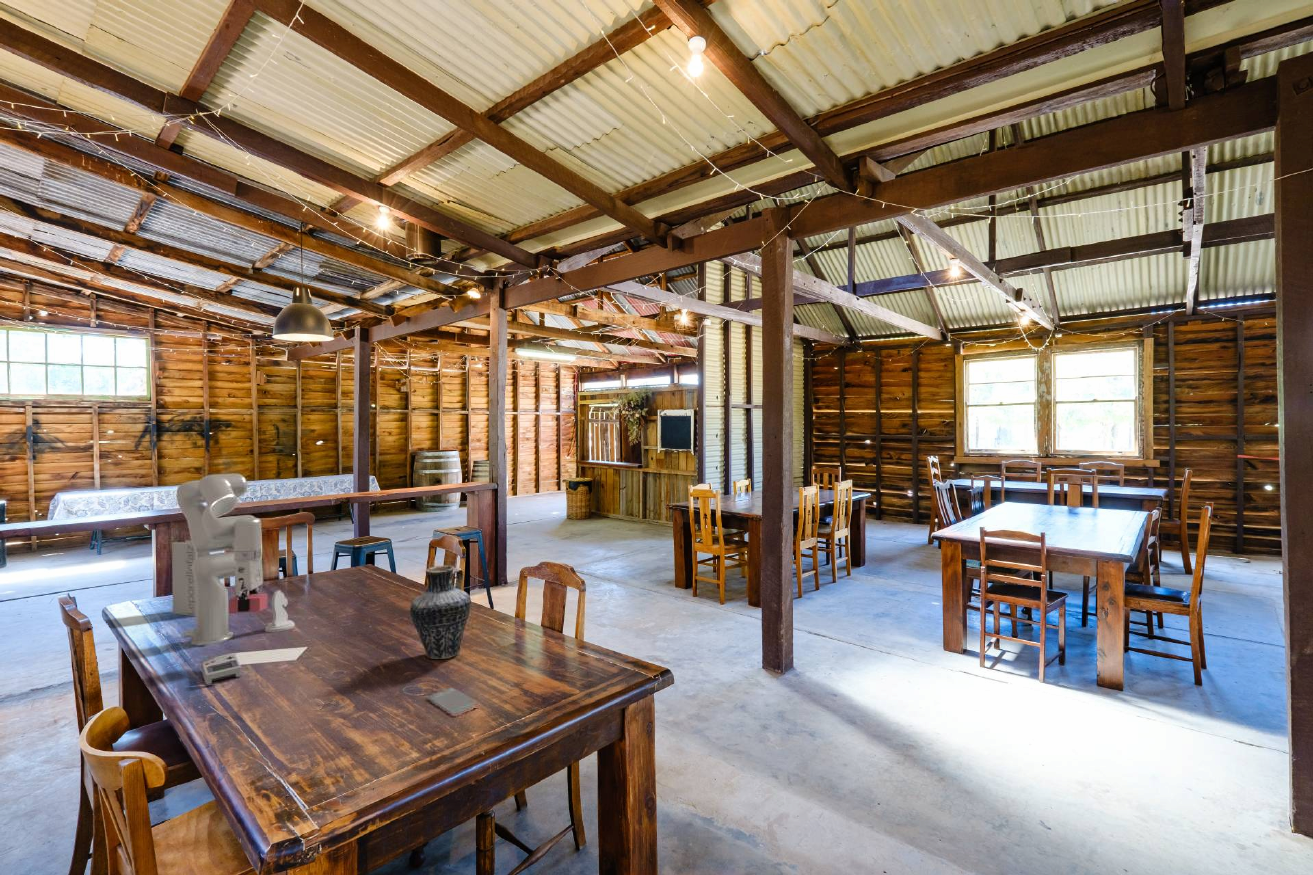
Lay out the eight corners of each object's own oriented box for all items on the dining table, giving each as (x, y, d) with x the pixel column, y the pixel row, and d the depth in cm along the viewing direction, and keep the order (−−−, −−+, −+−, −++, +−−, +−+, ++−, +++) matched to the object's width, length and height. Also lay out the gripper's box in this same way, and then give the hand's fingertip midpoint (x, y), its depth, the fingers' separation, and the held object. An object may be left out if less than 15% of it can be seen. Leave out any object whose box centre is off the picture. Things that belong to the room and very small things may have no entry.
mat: (219, 667, 189) (219, 666, 189) (236, 654, 200) (236, 652, 200) (295, 661, 194) (295, 659, 194) (307, 648, 206) (307, 646, 206)
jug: (451, 668, 187) (450, 576, 187) (398, 664, 191) (397, 573, 191) (483, 645, 208) (482, 562, 207) (434, 641, 212) (433, 559, 211)
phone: (452, 691, 172) (452, 687, 172) (481, 708, 162) (481, 703, 162) (426, 700, 166) (426, 696, 166) (454, 719, 155) (454, 714, 155)
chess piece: (300, 623, 232) (299, 586, 232) (284, 632, 222) (283, 593, 222) (276, 623, 232) (275, 586, 232) (258, 632, 223) (258, 593, 222)
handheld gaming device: (235, 662, 191) (234, 651, 191) (242, 677, 181) (241, 665, 180) (201, 671, 185) (200, 659, 185) (206, 687, 174) (205, 674, 174)
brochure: (172, 613, 246) (171, 542, 246) (186, 609, 252) (185, 540, 251) (197, 616, 242) (196, 544, 242) (210, 612, 247) (209, 542, 247)
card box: (228, 613, 192) (228, 599, 192) (237, 608, 198) (237, 594, 198) (259, 611, 194) (259, 598, 194) (267, 606, 200) (267, 593, 200)
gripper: (248, 559, 188) (249, 615, 188) (271, 549, 205) (271, 600, 205) (222, 561, 186) (222, 616, 187) (247, 550, 203) (247, 601, 203)
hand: (248, 607), depth 196 cm, fingers closed on card box, 6 cm apart
